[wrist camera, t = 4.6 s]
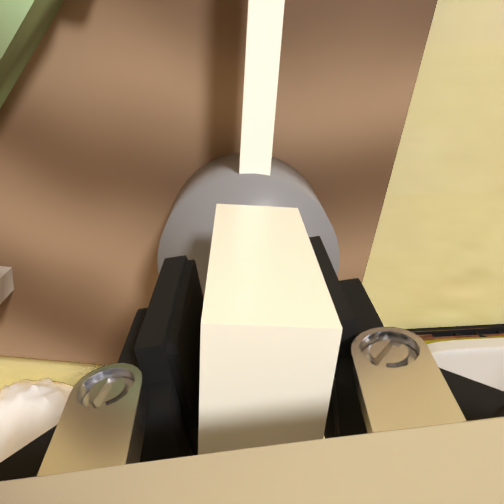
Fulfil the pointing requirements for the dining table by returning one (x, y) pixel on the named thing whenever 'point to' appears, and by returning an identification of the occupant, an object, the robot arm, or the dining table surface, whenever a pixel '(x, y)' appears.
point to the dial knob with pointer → (258, 274)
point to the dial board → (174, 142)
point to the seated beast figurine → (29, 412)
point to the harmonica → (468, 351)
